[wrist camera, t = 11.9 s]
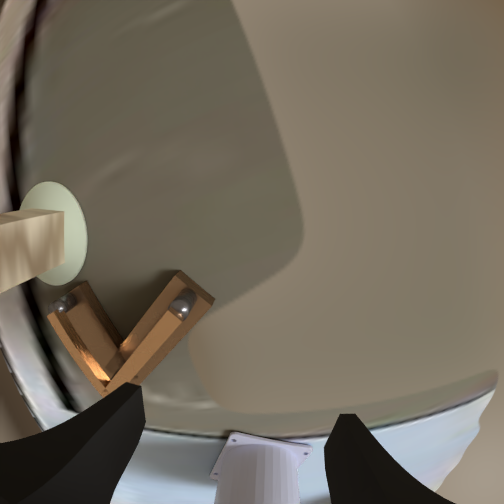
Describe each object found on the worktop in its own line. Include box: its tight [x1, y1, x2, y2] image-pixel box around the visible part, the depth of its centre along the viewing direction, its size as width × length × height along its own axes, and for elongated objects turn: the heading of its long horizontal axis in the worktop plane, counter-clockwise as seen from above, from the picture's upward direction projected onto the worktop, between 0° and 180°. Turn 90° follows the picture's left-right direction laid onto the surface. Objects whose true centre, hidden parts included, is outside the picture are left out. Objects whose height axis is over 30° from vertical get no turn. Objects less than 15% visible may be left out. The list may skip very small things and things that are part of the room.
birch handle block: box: [0, 208, 65, 294], centre depth 14 cm, size 4×4×8 cm
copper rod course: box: [47, 270, 215, 398], centre depth 18 cm, size 12×12×4 cm
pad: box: [20, 182, 88, 286], centre depth 18 cm, size 8×8×1 cm
